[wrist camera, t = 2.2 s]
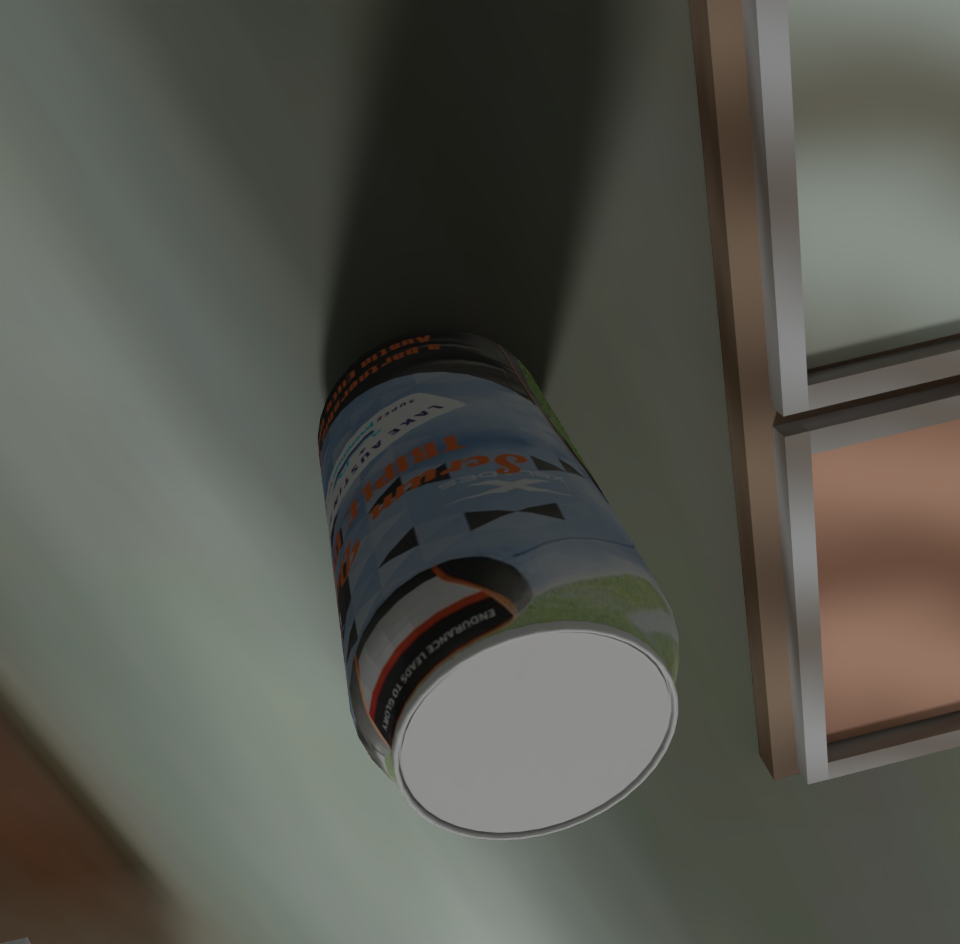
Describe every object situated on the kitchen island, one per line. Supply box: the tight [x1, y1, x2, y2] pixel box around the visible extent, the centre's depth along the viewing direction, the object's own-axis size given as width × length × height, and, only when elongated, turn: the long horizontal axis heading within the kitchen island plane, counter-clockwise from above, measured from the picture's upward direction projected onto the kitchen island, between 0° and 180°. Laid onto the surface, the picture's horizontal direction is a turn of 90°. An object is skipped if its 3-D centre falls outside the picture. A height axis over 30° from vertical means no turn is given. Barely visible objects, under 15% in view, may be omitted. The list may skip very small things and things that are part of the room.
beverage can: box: [318, 329, 679, 840], centre depth 20 cm, size 6×7×12 cm
